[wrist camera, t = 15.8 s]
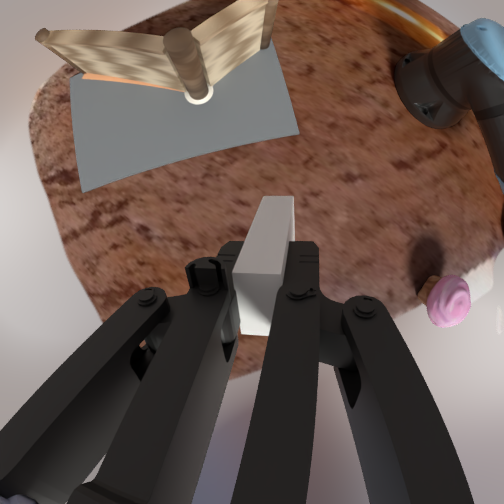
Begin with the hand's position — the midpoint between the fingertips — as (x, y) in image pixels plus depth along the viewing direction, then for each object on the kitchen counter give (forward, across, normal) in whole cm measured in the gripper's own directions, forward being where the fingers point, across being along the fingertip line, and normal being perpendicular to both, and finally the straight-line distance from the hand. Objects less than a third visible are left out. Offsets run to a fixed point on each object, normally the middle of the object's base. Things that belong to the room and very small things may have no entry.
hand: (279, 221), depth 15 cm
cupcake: (+27, +24, -26) cm, 45 cm away
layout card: (+29, -19, +8) cm, 36 cm away
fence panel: (+29, -25, +13) cm, 40 cm away
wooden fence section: (+32, -10, +11) cm, 36 cm away
